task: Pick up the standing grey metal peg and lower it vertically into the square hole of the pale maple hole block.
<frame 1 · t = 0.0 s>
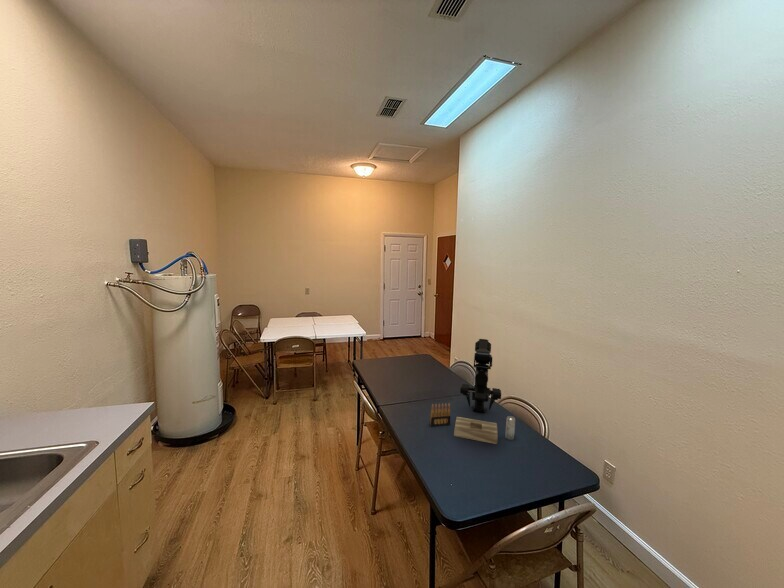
hand: (479, 408, 154), 15 cm above the table, tool pointing down, fingers open, 9 cm apart
ammunition clip: (439, 425, 165), on the table
metal peg: (509, 437, 156), on the table
hole block: (475, 433, 158), on the table
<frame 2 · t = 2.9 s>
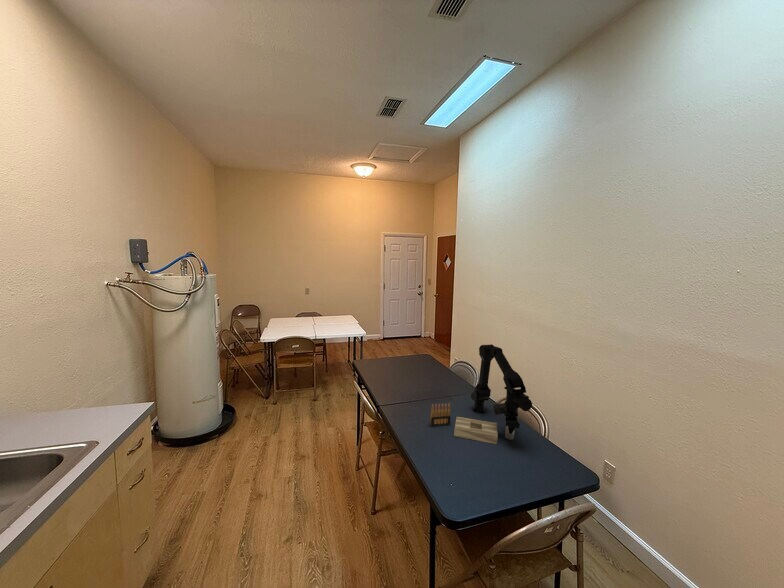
hand: (509, 431, 155), 3 cm above the table, tool pointing down, fingers closed on metal peg, 4 cm apart
metal peg: (509, 437, 156), on the table, touching gripper
everything else where it was.
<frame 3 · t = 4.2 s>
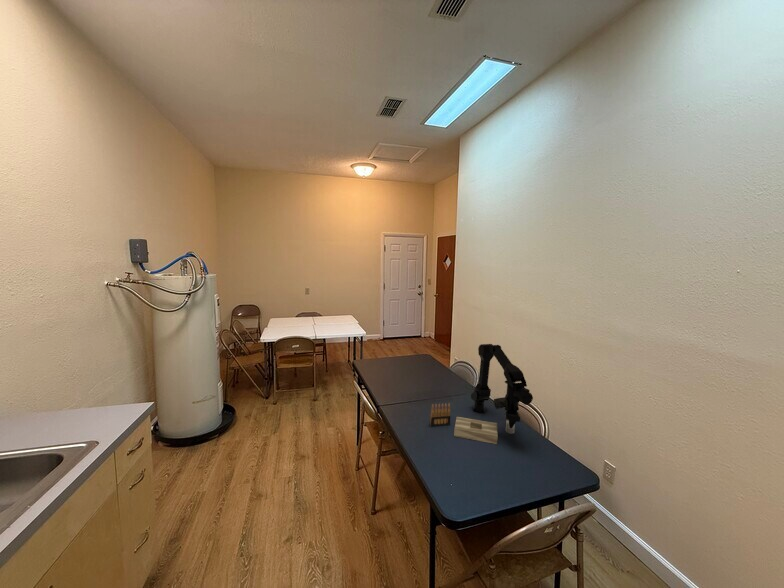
hand: (510, 425, 155), 6 cm above the table, tool pointing down, fingers closed on metal peg, 4 cm apart
metal peg: (509, 431, 155), point 3 cm above the table, touching gripper
everything else where it was.
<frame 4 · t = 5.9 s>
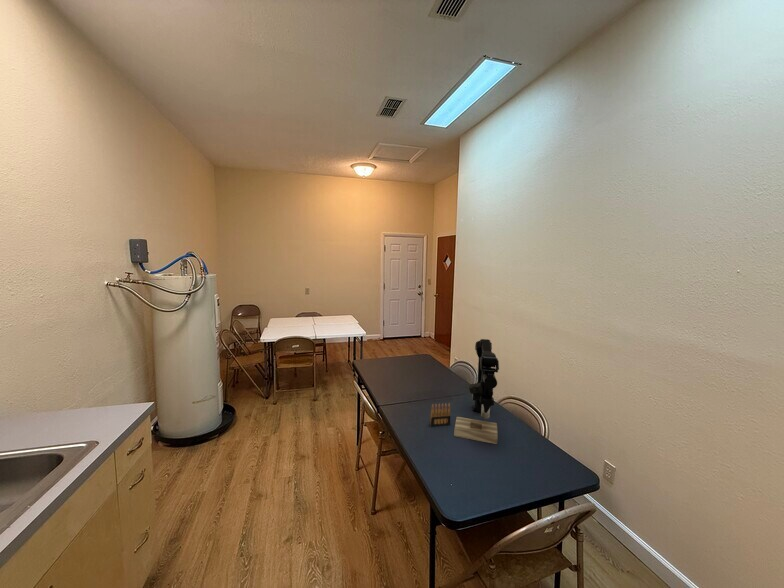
hand: (485, 410, 156), 12 cm above the table, tool pointing down, fingers closed on metal peg, 4 cm apart
metal peg: (485, 416, 156), point 9 cm above the table, touching gripper
everything else where it was.
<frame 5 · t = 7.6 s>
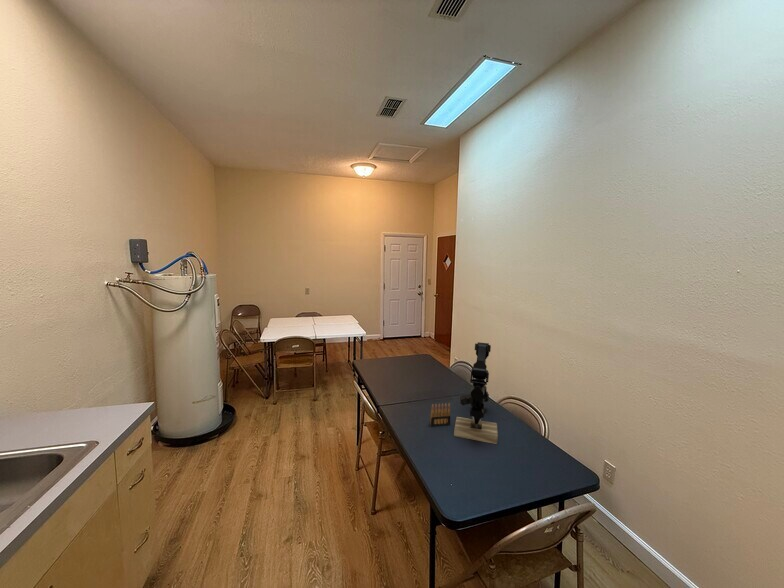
hand: (476, 421, 157), 6 cm above the table, tool pointing down, fingers closed on metal peg, 4 cm apart
metal peg: (476, 427, 158), point 3 cm above the table, touching gripper
everything else where it was.
when the fingers open (5 cm above the table, at t = 8.9 s): metal peg drops 2 cm, resting in hole block.
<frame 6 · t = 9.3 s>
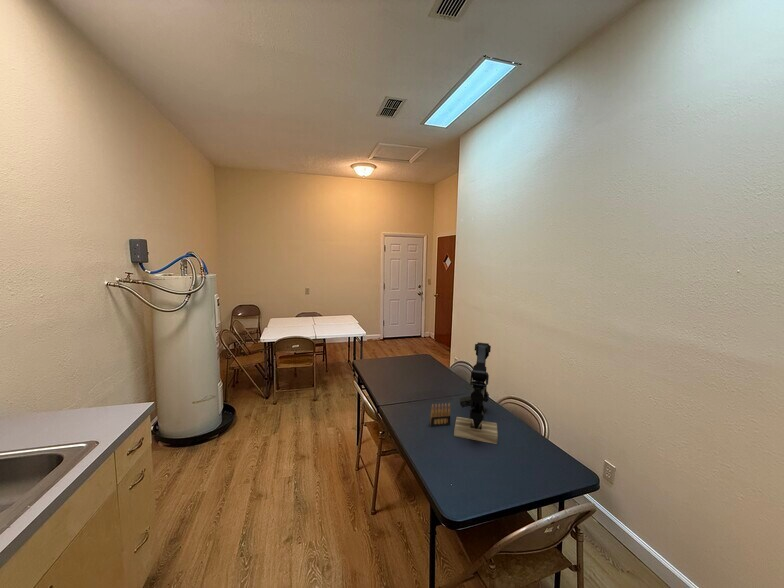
hand: (476, 423, 158), 5 cm above the table, tool pointing down, fingers open, 9 cm apart
metal peg: (475, 433, 158), resting in hole block
everything else where it was.
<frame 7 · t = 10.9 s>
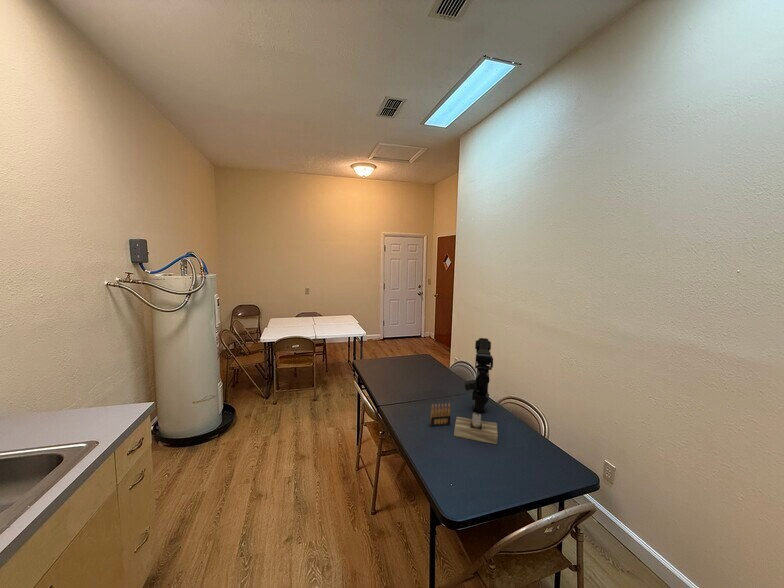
hand: (480, 406, 159), 13 cm above the table, tool pointing down, fingers open, 9 cm apart
nothing on the table moved.
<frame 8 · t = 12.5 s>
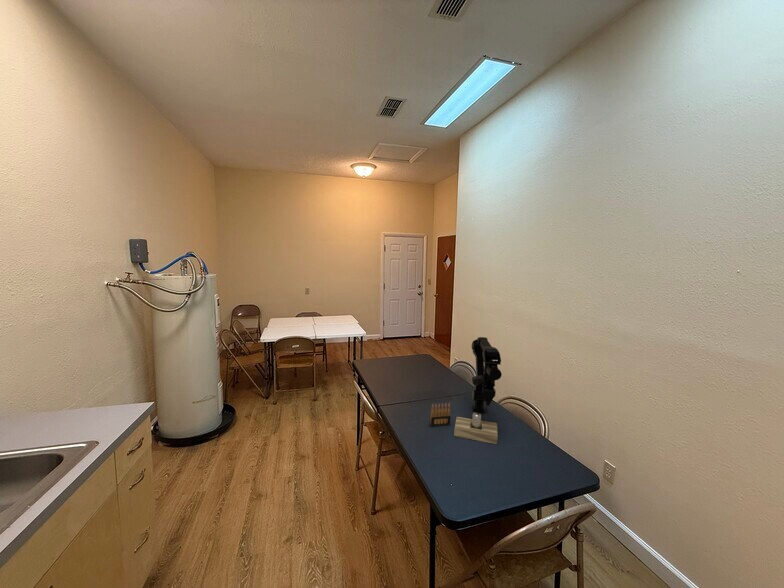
hand: (487, 401, 165), 13 cm above the table, tool pointing down, fingers open, 9 cm apart
nothing on the table moved.
at the end: metal peg 0.0 cm off-centre on the hole block, point 0.0 cm above the hole block's base; metal peg tilted 0°; the gripper is holding nothing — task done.
